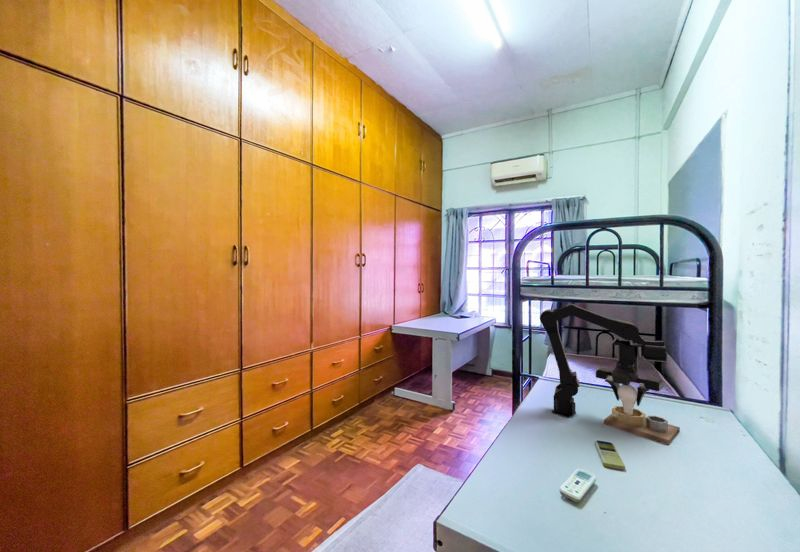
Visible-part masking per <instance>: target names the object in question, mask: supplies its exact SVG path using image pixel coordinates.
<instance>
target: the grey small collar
mask: <svg viewBox="0 0 800 552" xmlns="http://www.w3.org/2000/svg"><path fill="white" fill-rule="evenodd" d="M668 424H669V421H668V420H667V419H666V418H664V417H661V416H657V415H647V416H646V427H648V428H649V429H650V430H654V431H657V432H667V431H668Z"/></svg>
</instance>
